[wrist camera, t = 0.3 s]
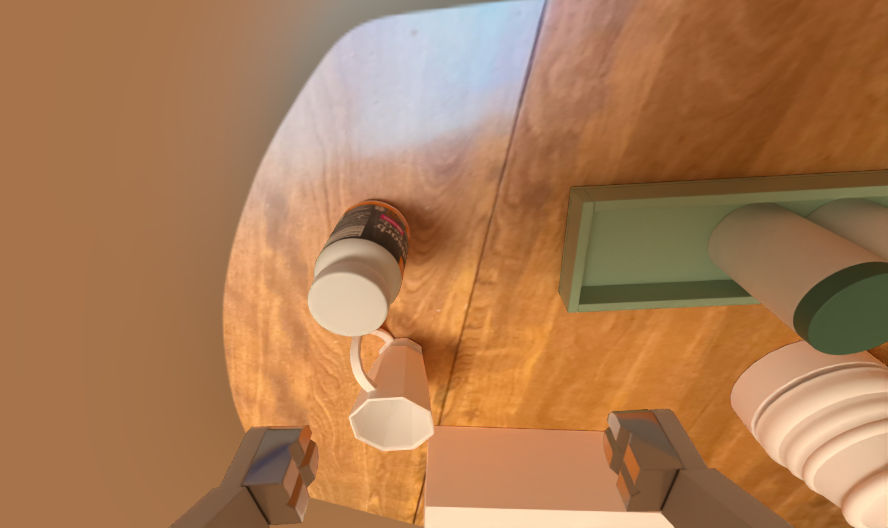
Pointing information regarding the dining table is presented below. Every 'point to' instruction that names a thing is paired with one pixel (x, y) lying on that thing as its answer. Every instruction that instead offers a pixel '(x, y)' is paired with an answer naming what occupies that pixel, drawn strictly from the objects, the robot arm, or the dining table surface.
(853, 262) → the white bottle
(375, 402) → the cup
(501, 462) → the hammer embossed box
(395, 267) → the pill bottle
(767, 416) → the honey pot
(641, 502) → the robot arm
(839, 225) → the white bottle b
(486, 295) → the dining table surface
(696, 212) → the bottle tray
